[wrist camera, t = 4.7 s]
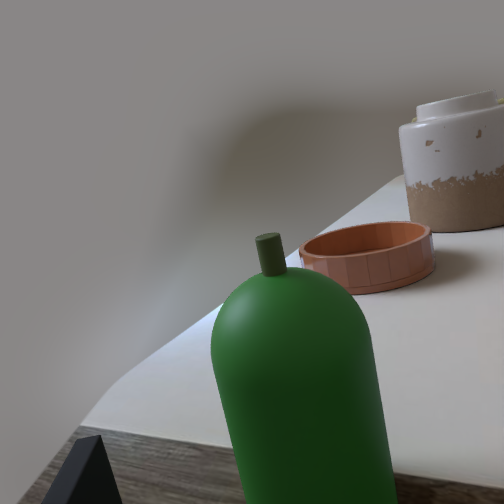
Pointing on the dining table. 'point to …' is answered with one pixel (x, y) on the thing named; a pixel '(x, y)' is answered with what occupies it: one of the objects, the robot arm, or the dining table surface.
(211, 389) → the dining table surface
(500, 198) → the vase
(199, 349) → the dining table surface
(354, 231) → the orange bowl
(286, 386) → the green pepper
